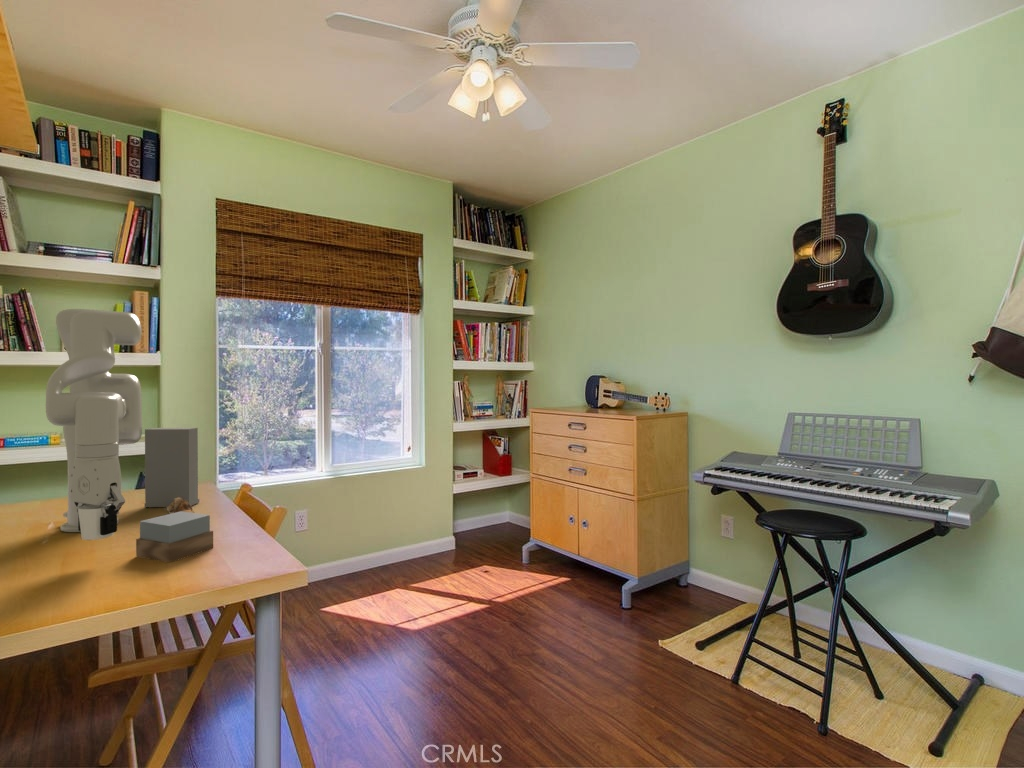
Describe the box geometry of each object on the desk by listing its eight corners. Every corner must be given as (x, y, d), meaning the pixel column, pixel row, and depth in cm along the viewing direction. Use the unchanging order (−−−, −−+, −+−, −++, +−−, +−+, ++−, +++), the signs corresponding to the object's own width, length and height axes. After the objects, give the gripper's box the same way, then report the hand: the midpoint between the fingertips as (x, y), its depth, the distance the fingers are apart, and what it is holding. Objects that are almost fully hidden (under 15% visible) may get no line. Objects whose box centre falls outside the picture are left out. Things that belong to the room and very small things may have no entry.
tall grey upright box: (199, 503, 174) (199, 427, 174) (189, 507, 168) (189, 429, 167) (156, 503, 173) (156, 427, 173) (144, 508, 167) (144, 429, 167)
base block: (136, 558, 122) (136, 539, 122) (180, 544, 132) (180, 526, 132) (170, 564, 118) (170, 544, 118) (213, 549, 128) (213, 530, 128)
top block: (140, 538, 122) (139, 521, 122) (181, 527, 131) (181, 511, 131) (169, 543, 118) (169, 525, 118) (209, 531, 128) (209, 515, 128)
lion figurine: (164, 531, 141) (164, 498, 141) (186, 527, 146) (186, 495, 146) (187, 542, 132) (187, 506, 132) (209, 537, 137) (209, 502, 137)
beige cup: (95, 542, 113) (95, 509, 113) (69, 539, 114) (69, 507, 114) (125, 532, 120) (124, 501, 119) (99, 529, 121) (99, 499, 121)
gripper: (51, 450, 115) (52, 531, 116) (106, 456, 110) (107, 541, 110) (88, 445, 122) (89, 522, 123) (142, 451, 117) (142, 531, 118)
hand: (97, 530), depth 117 cm, fingers closed on beige cup, 6 cm apart
